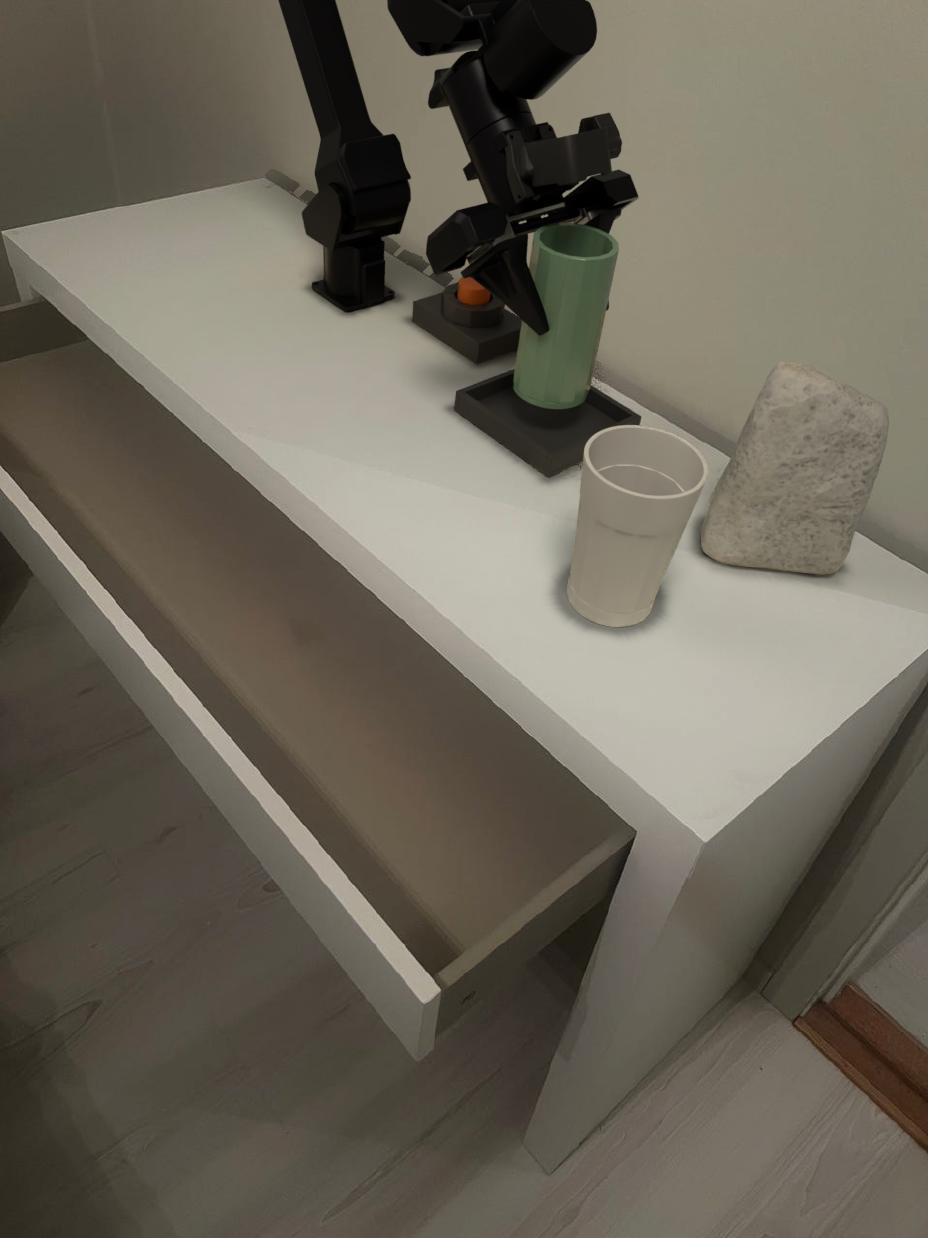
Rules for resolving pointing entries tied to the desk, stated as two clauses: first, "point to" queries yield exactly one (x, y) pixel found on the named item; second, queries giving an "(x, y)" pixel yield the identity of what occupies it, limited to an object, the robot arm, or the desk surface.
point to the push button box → (468, 324)
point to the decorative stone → (797, 474)
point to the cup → (630, 519)
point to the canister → (565, 314)
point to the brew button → (472, 292)
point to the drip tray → (539, 422)
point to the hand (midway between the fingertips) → (574, 322)
